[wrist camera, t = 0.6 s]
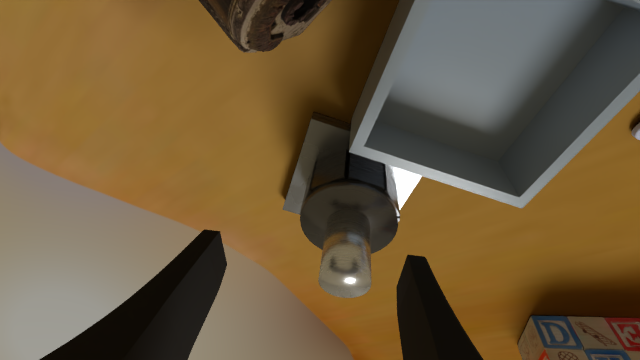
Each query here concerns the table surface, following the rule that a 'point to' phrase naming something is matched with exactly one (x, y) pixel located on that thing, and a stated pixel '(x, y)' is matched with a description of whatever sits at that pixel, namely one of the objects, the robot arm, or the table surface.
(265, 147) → the table surface
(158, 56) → the table surface
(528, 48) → the bin
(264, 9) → the dark brown handled cylinder
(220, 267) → the robot arm
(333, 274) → the dark grey stepped cylinder
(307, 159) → the stud mount
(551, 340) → the stack of blocks
